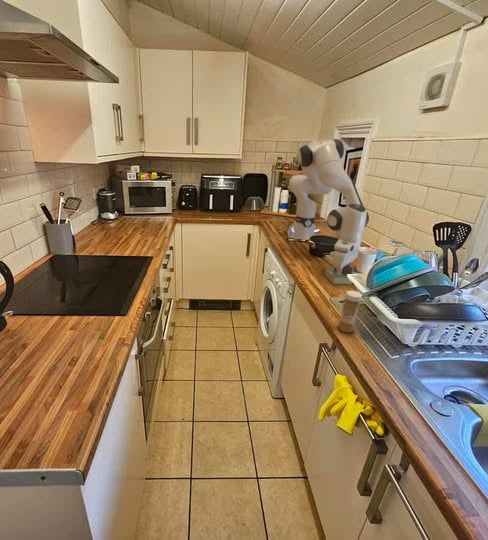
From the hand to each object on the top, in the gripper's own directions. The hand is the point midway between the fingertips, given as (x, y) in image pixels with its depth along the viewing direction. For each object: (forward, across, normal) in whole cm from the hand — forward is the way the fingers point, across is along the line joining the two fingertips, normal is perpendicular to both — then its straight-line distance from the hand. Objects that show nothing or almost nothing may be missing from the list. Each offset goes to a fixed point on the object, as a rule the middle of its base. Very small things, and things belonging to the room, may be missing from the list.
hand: (343, 272), depth 135 cm
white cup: (+4, -17, +4) cm, 18 cm away
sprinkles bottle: (+4, +39, +17) cm, 43 cm away
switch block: (+4, -21, -12) cm, 24 cm away
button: (0, -21, -11) cm, 24 cm away
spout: (+1, 0, 0) cm, 1 cm away
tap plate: (+4, 0, 0) cm, 4 cm away
